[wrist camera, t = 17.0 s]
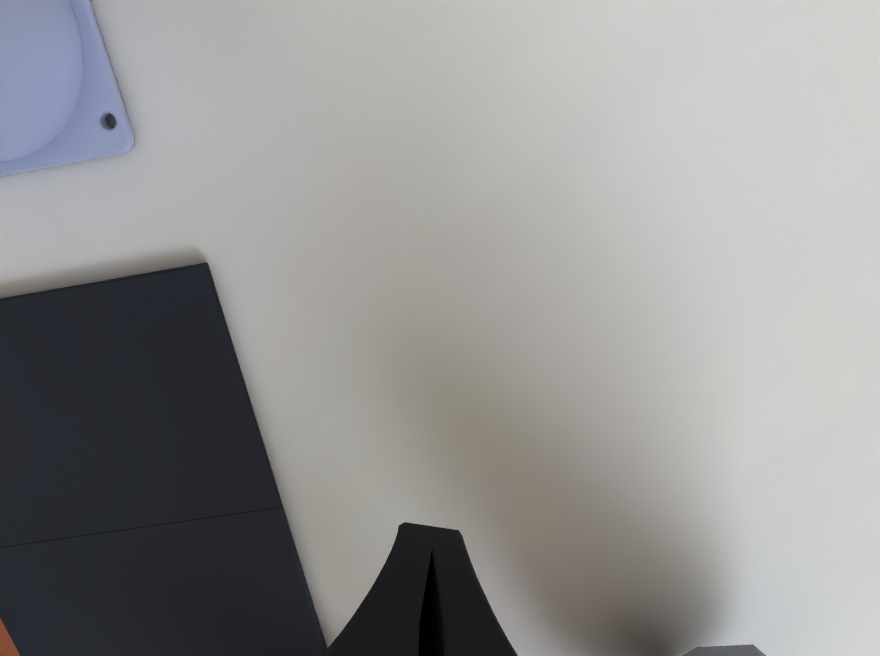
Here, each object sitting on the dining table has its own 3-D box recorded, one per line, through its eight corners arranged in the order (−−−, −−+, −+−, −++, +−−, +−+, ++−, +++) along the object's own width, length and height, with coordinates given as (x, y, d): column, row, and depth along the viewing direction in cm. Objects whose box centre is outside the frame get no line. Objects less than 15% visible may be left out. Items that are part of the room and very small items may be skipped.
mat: (-397, 368, 22) (-412, 372, 22) (208, 262, 21) (203, 264, 20) (-141, 741, 29) (-148, 749, 28) (338, 684, 27) (336, 692, 27)
